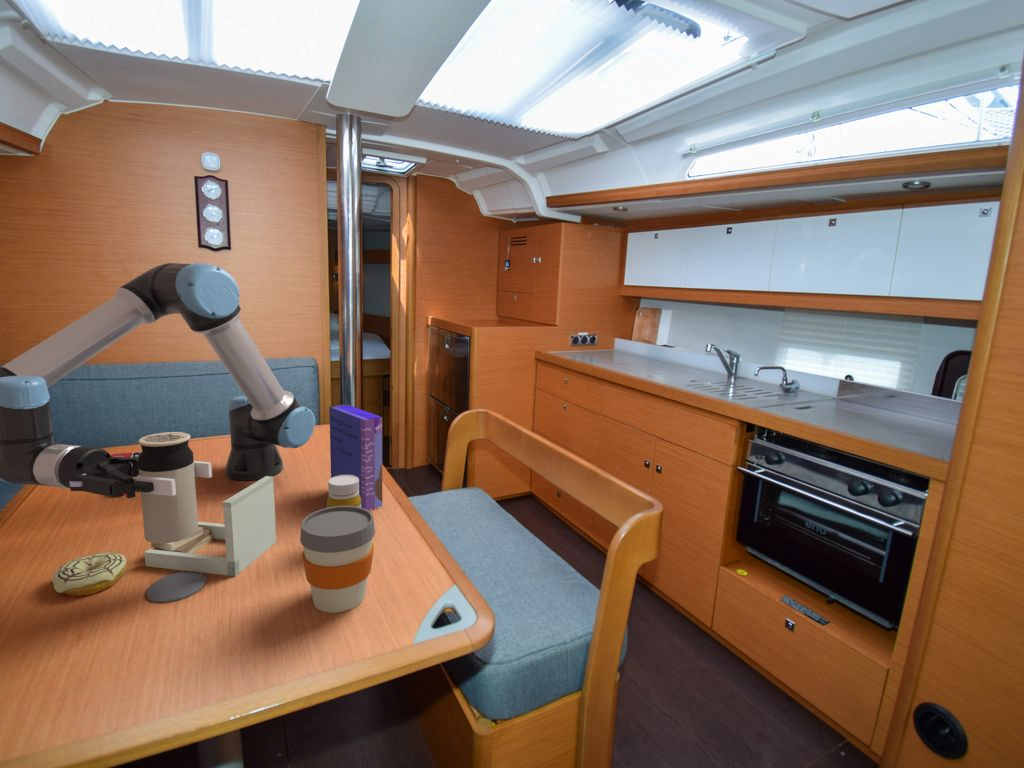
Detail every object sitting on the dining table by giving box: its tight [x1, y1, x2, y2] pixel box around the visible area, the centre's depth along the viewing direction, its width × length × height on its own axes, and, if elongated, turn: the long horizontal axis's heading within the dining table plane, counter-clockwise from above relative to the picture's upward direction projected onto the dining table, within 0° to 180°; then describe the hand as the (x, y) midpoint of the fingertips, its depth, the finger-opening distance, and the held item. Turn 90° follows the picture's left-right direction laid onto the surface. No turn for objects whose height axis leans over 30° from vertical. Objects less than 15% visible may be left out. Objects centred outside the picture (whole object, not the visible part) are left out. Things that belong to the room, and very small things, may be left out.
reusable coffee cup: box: [299, 506, 376, 614], centre depth 91 cm, size 12×13×15 cm
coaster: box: [146, 571, 206, 603], centre depth 93 cm, size 9×9×1 cm
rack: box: [143, 476, 277, 577], centre depth 103 cm, size 19×14×15 cm
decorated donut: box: [51, 552, 128, 597], centre depth 93 cm, size 10×11×4 cm
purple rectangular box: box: [328, 403, 383, 511], centre depth 132 cm, size 17×5×24 cm, turn 47°
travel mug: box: [137, 431, 199, 544], centre depth 89 cm, size 8×8×18 cm
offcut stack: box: [150, 527, 213, 554], centre depth 105 cm, size 7×10×4 cm, turn 173°
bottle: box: [326, 475, 361, 508], centre depth 109 cm, size 7×7×15 cm
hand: (192, 478), depth 88 cm, fingers closed on travel mug, 8 cm apart
